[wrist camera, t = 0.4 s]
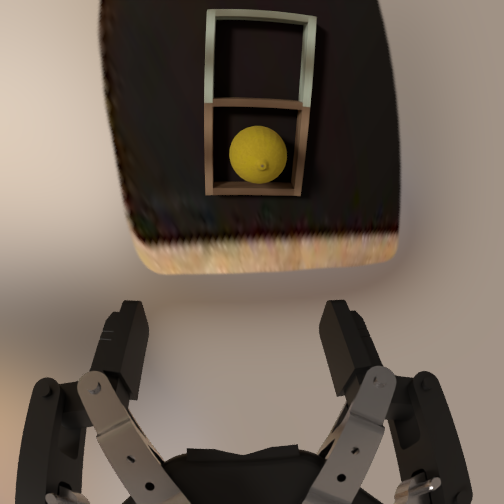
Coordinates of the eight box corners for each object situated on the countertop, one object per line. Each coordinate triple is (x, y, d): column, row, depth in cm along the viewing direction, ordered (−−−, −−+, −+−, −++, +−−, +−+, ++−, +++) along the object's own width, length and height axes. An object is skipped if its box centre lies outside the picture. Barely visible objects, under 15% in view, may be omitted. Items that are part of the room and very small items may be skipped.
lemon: (289, 141, 30) (307, 162, 23) (257, 176, 32) (265, 207, 26) (250, 110, 28) (258, 121, 21) (219, 148, 30) (216, 172, 23)
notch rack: (208, 13, 21) (207, 9, 19) (311, 20, 22) (316, 17, 20) (206, 188, 33) (205, 195, 31) (296, 189, 33) (300, 195, 32)
